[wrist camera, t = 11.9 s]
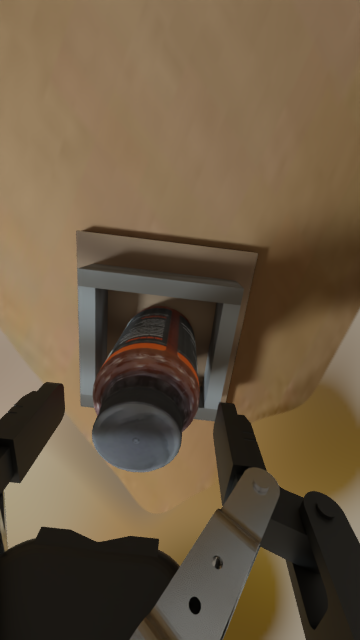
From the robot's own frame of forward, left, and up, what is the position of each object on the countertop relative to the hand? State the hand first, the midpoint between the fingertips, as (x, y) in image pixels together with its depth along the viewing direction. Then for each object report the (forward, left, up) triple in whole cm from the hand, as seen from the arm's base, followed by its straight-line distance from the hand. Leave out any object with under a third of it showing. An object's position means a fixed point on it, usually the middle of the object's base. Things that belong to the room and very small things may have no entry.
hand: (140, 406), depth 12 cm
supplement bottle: (0, 0, -9) cm, 9 cm away
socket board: (0, 0, -10) cm, 10 cm away
